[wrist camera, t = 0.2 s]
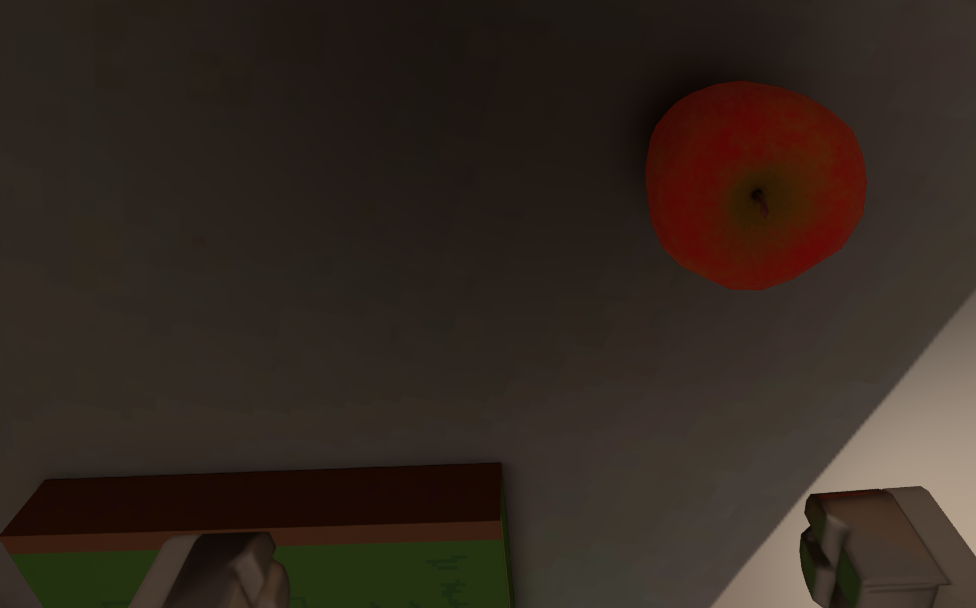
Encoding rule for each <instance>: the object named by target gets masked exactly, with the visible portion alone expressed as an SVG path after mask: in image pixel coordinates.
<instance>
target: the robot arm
mask: <svg viewBox="0 0 976 608" xmlns="http://www.w3.org/2000/svg"><path fill="white" fill-rule="evenodd" d="M804 513H805V515H806V517H807V519H808V522H809V524H810V526H809V527H808V528H807V529H806V530H805V531H804V532H803V533H802V534H801V540H800V550H799V551H800V559H801V567H802V572H803V575H804V579H805V582H806V585H807V587H808V589H809V592H810V594H811V597H812V599H813V601H815V602H816V603H817V604H818V605H820V606H821V607H822V608H976V556H975V555H974V553H973V552H972V551H971V549H970V548H969V546H968V545H967V544H966V542H965V541H964V540H963V538H962V537H961V536H960V534H959V533H958V532H957V530H956V529H955V527H954V526H953V524H952V523H951V522H950V520H949V519H948V518H947V516H946V515H945V514H944V512H943V511H942V509H941V508H940V507H939V505H938V504H937V502H936V501H935V500H934V498H933V497H932V496H931V494H930V493H929V491H927V490H926V489H924V488H923V487H921V486H914V487H901V488H887V489H882V490H881V489H869V490H856V491H845V492H844V491H843V492H830V493H819V494H818V493H817V494H810V496H809V497H808V499H807V500H806V505H805V511H804ZM275 549H276V545H275V543H274V541H273V539H272V536H271V534H270V532H263V531H260V532H235V533H210V534H195V535H174V536H172V537H171V538H169V539H168V540H167V541H166V542H165V543H164V544H163V545H162V547H161V549H160V551H159V553H158V554H157V556H156V558H155V560H154V562H153V563H152V565H151V567H150V569H149V571H148V573H147V574H146V576H145V578H144V580H143V582H142V583H141V585H140V587H139V589H138V591H137V592H136V594H135V596H134V598H133V600H132V601H131V603H130V605H129V607H128V608H289V605H290V593H291V589H290V583H289V576H288V574H287V571H286V569H285V566H284V565H282V564H281V563H279V562H278V561H276V560H275V559H273V558H272V557H273V555H274V552H275Z"/></svg>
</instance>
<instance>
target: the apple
mask: <svg viewBox="0 0 976 608" xmlns="http://www.w3.org/2000/svg"><path fill="white" fill-rule="evenodd" d="M645 180H646V189H647V197H648V205H649V213H650V221H651V224H652V226H653V228H654V230H655V232H656V234H657V236H658V239H659V241H660V243H661V245H662V247H663V249H664V250H665V251H666V252H667V253H668V254H669V255H670V256H671V257H672V258H673V259H674V260H675V261H676V262H677V263H678V264H679V265H680V266H682V267H684V268H686V269H688V270H690V271H692V272H694V273H696V274H698V275H700V276H703V277H705V278H707V279H709V280H711V281H713V282H716V283H718V284H720V285H722V286H724V287H726V288H728V289H734V290H763V289H766V288H769V287H772V286H774V285H777V284H780V283H783V282H786V281H789V280H791V279H794V278H795V277H797V276H798V275H800V274H802V273H803V272H805V271H806V270H808V269H810V268H811V267H813V266H814V265H816V264H818V263H819V262H821V261H822V260H824V259H825V258H827V257H829V256H830V255H832V254H833V253H835V252H837V251H838V250H840V249H841V248H842V247H843V245H844V244H845V242H846V240H847V239H848V237H849V236H850V234H851V233H852V231H853V230H854V228H855V226H856V225H857V223H858V222H859V220H860V219H861V217H862V215H863V210H864V201H865V193H866V184H867V180H866V172H865V165H864V158H863V154H862V151H861V149H860V146H859V144H858V141H857V139H856V137H855V134H854V132H853V130H852V129H851V128H850V127H849V126H848V125H847V124H846V123H844V122H843V121H842V120H841V119H840V118H839V117H838V116H836V115H835V114H834V113H833V112H831V111H830V110H828V109H826V108H825V107H823V106H822V105H820V104H818V103H817V102H815V101H814V100H812V99H810V98H809V97H807V96H804V95H802V94H799V93H796V92H793V91H790V90H788V89H785V88H782V87H777V86H771V85H766V84H760V83H754V82H748V81H742V80H741V81H734V82H727V83H721V84H715V85H712V86H709V87H707V88H704V89H701V90H698V91H695V92H692V93H690V94H689V95H687V96H686V97H684V98H682V99H681V100H679V101H678V102H676V103H675V104H674V105H673V106H672V107H671V108H670V109H669V110H668V111H667V113H666V114H665V115H664V116H663V117H662V119H661V120H660V121H659V122H658V124H657V125H656V126H655V129H654V131H653V133H652V136H651V138H650V143H649V149H648V155H647V161H646V172H645Z"/></svg>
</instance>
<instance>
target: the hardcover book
mask: <svg viewBox="0 0 976 608" xmlns="http://www.w3.org/2000/svg"><path fill="white" fill-rule="evenodd" d="M260 531H263V532H270V534H271V536H272V539H273V541H274V543H275V545H276V549H275V552H274V555H273V557H272V558H273V559H275V560H276V561H278V562H279V563H281V564H282V565H284V566H285V569H286V571H287V574H288V576H289V583H290V589H291V593H290V605H289V608H515V605H514V595H513V584H512V573H511V563H510V552H509V542H508V531H507V521H506V510H505V499H504V489H503V478H502V468H501V463H489V464H463V465H436V466H410V467H383V468H357V469H330V470H303V471H277V472H250V473H224V474H197V475H171V476H144V477H118V478H91V479H65V480H44V482H43V483H42V484H41V485H40V487H39V488H38V489H37V490H36V491H35V493H34V494H33V495H32V496H31V498H30V499H29V500H28V501H27V502H26V504H25V505H24V506H23V507H22V509H21V510H20V511H19V512H18V513H17V515H16V516H15V517H14V518H13V520H12V521H11V522H10V523H9V524H8V526H7V527H6V528H5V529H4V531H3V532H2V533H1V534H0V540H1V542H2V543H3V545H4V547H5V548H6V550H7V551H8V553H9V554H10V556H11V557H12V559H13V561H14V562H15V564H16V565H17V567H18V568H19V570H20V572H21V573H22V575H23V576H24V578H25V579H26V581H27V582H28V584H29V586H30V587H31V589H32V590H33V592H34V593H35V595H36V597H37V598H38V600H39V601H40V603H41V604H42V606H43V607H44V608H128V607H129V605H130V603H131V601H132V600H133V598H134V596H135V594H136V592H137V591H138V589H139V587H140V585H141V583H142V582H143V580H144V578H145V576H146V574H147V573H148V571H149V569H150V567H151V565H152V563H153V562H154V560H155V558H156V556H157V554H158V553H159V551H160V549H161V547H162V545H163V544H164V543H165V542H166V541H167V540H168V539H169V538H171V537H172V536H174V535H195V534H210V533H235V532H260Z"/></svg>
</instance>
